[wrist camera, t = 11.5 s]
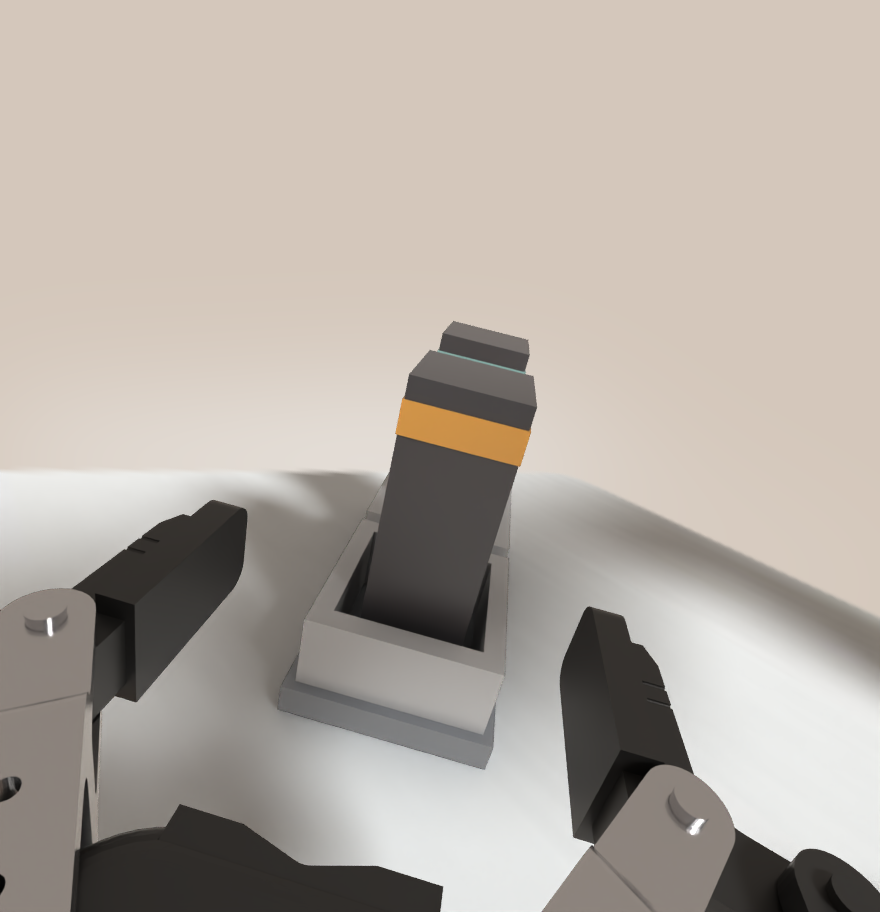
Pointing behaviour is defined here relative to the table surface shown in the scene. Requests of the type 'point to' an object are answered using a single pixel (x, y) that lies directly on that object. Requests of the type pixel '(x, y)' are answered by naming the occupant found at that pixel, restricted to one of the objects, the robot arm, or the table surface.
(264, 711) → the table surface
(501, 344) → the twin plug
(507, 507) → the grey double socket holder
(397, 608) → the plug
